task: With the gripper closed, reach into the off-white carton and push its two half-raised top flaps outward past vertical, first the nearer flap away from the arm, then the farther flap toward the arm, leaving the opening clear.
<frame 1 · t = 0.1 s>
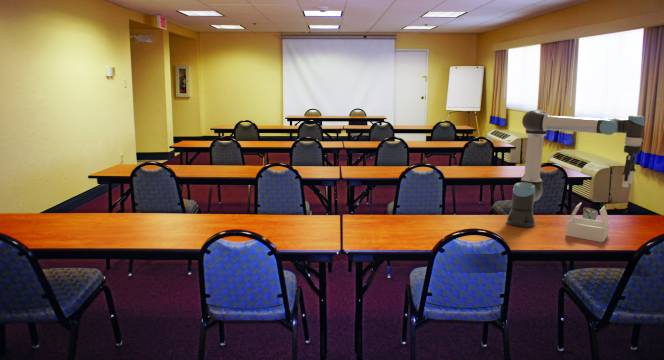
hand: (627, 185, 271), 28 cm above the table, fingers open, 13 cm apart
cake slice: (590, 227, 291), on the table
carton: (586, 236, 274), on the table
flap 1: (575, 211, 276), point 12 cm above the table, hinge at 70.0°
flap 2: (604, 216, 268), point 12 cm above the table, hinge at 70.0°
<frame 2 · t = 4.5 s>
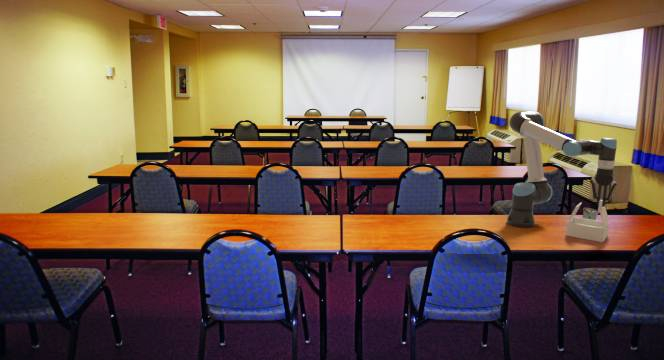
hand: (599, 212, 268), 14 cm above the table, fingers closed
flap 2: (604, 216, 268), point 12 cm above the table, hinge at 70.0°, touching gripper
everything else where it was.
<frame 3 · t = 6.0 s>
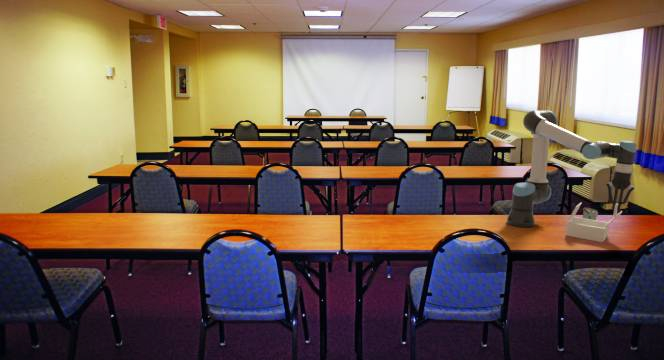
hand: (614, 216, 265), 13 cm above the table, fingers closed
flap 2: (613, 218, 265), point 12 cm above the table, hinge at 127.3°, touching gripper
everything else where it was.
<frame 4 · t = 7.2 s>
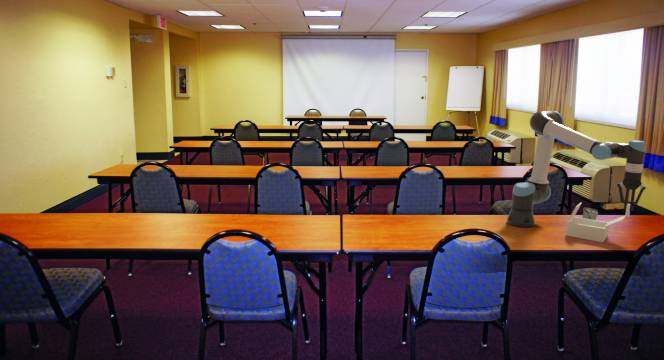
hand: (627, 216, 261), 14 cm above the table, fingers closed
flap 2: (615, 221, 265), point 11 cm above the table, hinge at 145.4°
everything else where it was.
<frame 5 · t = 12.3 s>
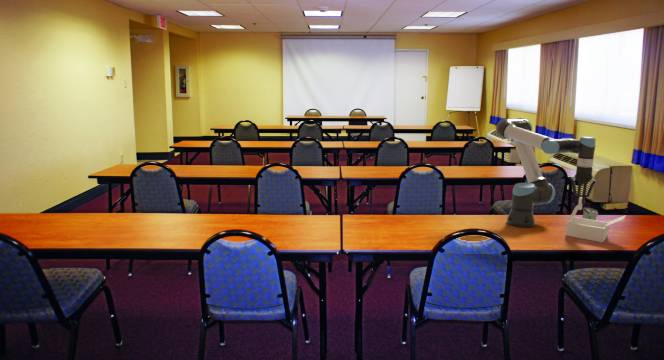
hand: (579, 209, 274), 14 cm above the table, fingers closed
flap 1: (574, 211, 276), point 12 cm above the table, hinge at 71.4°, touching gripper
everything else where it was.
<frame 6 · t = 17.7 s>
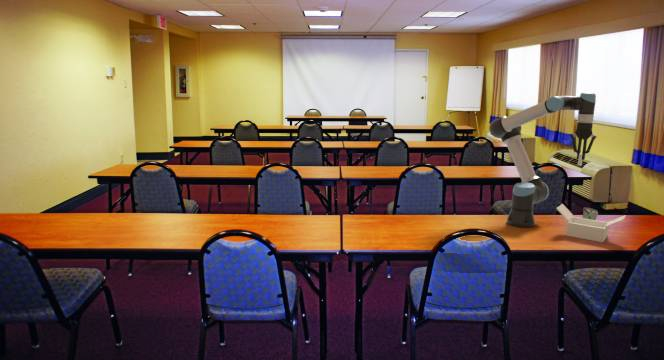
hand: (579, 165, 278), 36 cm above the table, fingers closed
flap 1: (564, 212, 279), point 11 cm above the table, hinge at 137.9°
everything else where it was.
at the end: flap 2 at +146° (first picture: +70°); flap 1 at +138° (first picture: +70°) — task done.
